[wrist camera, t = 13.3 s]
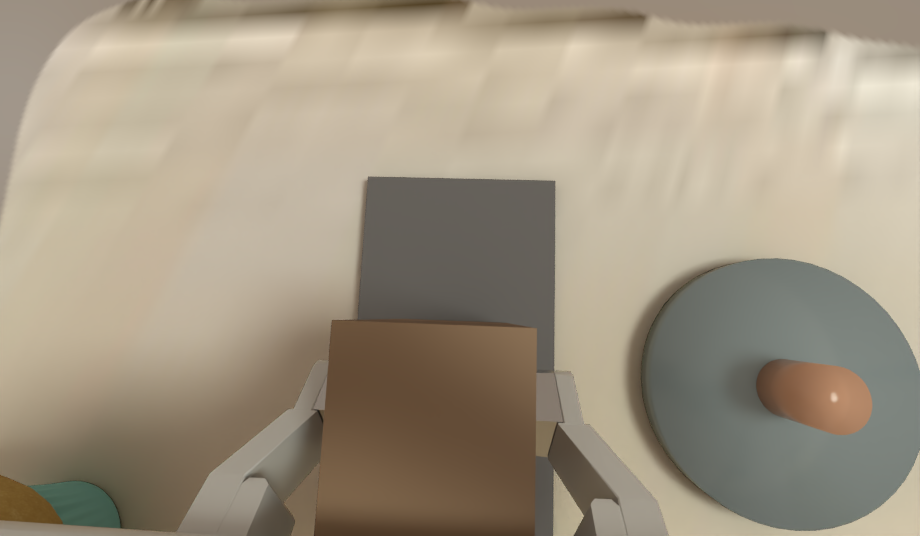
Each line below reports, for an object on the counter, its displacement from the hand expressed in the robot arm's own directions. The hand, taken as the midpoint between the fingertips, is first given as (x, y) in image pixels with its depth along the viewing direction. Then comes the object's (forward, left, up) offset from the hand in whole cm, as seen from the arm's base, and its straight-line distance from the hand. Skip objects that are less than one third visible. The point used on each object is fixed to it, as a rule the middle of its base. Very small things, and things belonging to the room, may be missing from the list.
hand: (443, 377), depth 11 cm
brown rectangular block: (-1, 0, -4) cm, 5 cm away
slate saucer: (-1, -14, -6) cm, 15 cm away
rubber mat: (-1, 0, -6) cm, 6 cm away
